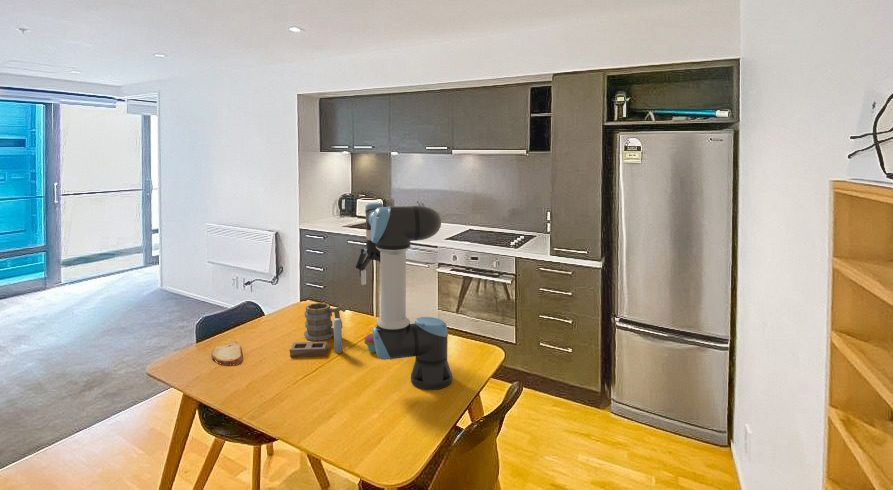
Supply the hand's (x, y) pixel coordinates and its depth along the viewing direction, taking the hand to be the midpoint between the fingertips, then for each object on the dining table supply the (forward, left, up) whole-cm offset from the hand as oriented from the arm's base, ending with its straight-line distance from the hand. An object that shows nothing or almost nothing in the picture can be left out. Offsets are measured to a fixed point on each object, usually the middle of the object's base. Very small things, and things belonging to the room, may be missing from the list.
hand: (376, 286), depth 218 cm
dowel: (-12, +16, -24) cm, 32 cm away
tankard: (+6, +23, -25) cm, 34 cm away
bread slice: (-12, +60, -25) cm, 66 cm away
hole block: (-12, +28, -24) cm, 39 cm away
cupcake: (-12, +1, -25) cm, 28 cm away
